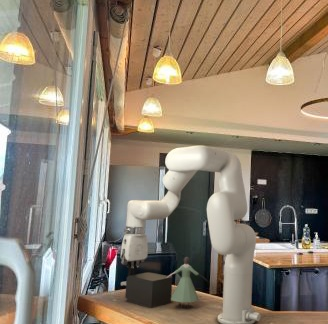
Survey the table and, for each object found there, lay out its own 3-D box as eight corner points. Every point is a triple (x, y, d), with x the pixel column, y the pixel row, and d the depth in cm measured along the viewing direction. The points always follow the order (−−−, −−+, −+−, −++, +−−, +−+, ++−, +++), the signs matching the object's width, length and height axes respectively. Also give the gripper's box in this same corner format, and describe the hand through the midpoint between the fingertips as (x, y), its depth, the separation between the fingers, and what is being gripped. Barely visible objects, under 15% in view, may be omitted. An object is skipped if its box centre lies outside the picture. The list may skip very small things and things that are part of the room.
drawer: (116, 295, 149) (118, 275, 149) (134, 291, 156) (136, 272, 156) (147, 303, 139) (148, 282, 140) (165, 299, 146) (166, 278, 147)
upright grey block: (126, 301, 144) (128, 275, 145) (146, 296, 153) (148, 272, 153) (151, 307, 137) (152, 281, 138) (171, 302, 145) (172, 276, 146)
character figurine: (209, 304, 144) (211, 255, 146) (207, 310, 136) (209, 259, 137) (167, 303, 144) (170, 254, 145) (162, 309, 135) (165, 257, 137)
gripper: (126, 233, 144) (122, 282, 143) (156, 231, 157) (153, 276, 155) (113, 231, 149) (110, 279, 147) (143, 229, 161) (140, 273, 159)
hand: (132, 277), depth 151 cm, fingers closed
